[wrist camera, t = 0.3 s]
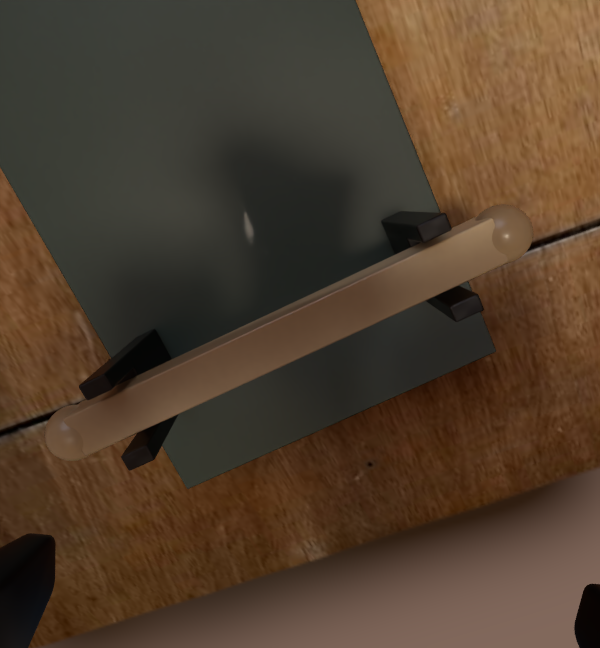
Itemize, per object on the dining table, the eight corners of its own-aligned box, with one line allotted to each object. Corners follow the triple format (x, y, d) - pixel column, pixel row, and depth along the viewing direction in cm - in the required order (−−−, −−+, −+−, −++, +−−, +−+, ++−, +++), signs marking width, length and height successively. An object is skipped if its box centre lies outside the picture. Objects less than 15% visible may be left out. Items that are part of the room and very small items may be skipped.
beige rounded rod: (525, 246, 19) (552, 251, 17) (76, 453, 20) (53, 479, 18) (506, 195, 18) (531, 193, 16) (49, 409, 20) (22, 432, 18)
